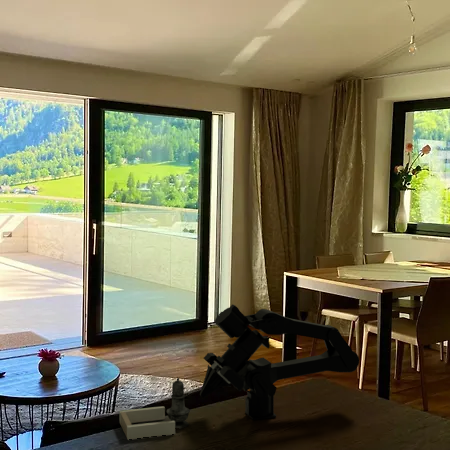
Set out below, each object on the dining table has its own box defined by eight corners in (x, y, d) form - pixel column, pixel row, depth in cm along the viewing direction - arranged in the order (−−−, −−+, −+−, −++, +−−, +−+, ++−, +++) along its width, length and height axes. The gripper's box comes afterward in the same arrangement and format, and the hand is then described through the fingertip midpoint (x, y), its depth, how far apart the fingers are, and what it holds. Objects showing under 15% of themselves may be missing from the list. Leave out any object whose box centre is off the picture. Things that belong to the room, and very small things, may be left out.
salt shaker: (186, 429, 161) (186, 381, 161) (163, 428, 162) (163, 380, 162) (192, 421, 167) (192, 374, 166) (170, 420, 168) (169, 373, 168)
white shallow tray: (163, 417, 170) (163, 406, 170) (175, 434, 158) (175, 422, 158) (119, 422, 166) (119, 410, 166) (127, 440, 155) (127, 427, 154)
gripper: (276, 379, 162) (234, 428, 159) (251, 360, 180) (212, 404, 177) (246, 350, 160) (202, 399, 157) (223, 334, 177) (183, 378, 175)
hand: (201, 396), depth 166 cm, fingers closed
